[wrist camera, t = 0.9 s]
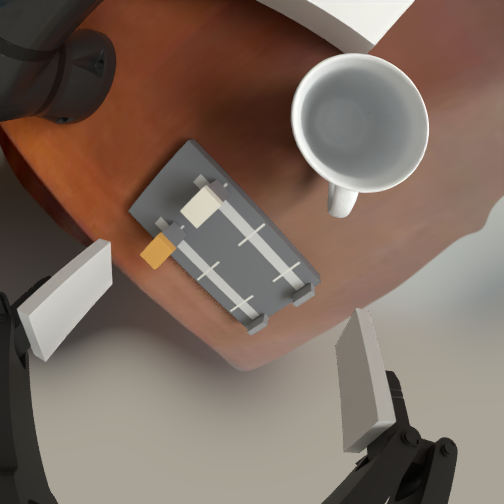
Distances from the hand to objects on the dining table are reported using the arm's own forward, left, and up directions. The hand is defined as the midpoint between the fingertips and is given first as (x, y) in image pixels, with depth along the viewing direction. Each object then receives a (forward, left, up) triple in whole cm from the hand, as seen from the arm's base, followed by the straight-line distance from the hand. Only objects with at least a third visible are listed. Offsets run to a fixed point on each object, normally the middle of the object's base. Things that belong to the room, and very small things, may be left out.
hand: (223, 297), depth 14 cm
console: (+1, -9, -23) cm, 24 cm away
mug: (0, +11, -23) cm, 26 cm away
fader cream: (-4, -5, -21) cm, 22 cm away
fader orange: (-4, -13, -21) cm, 25 cm away
